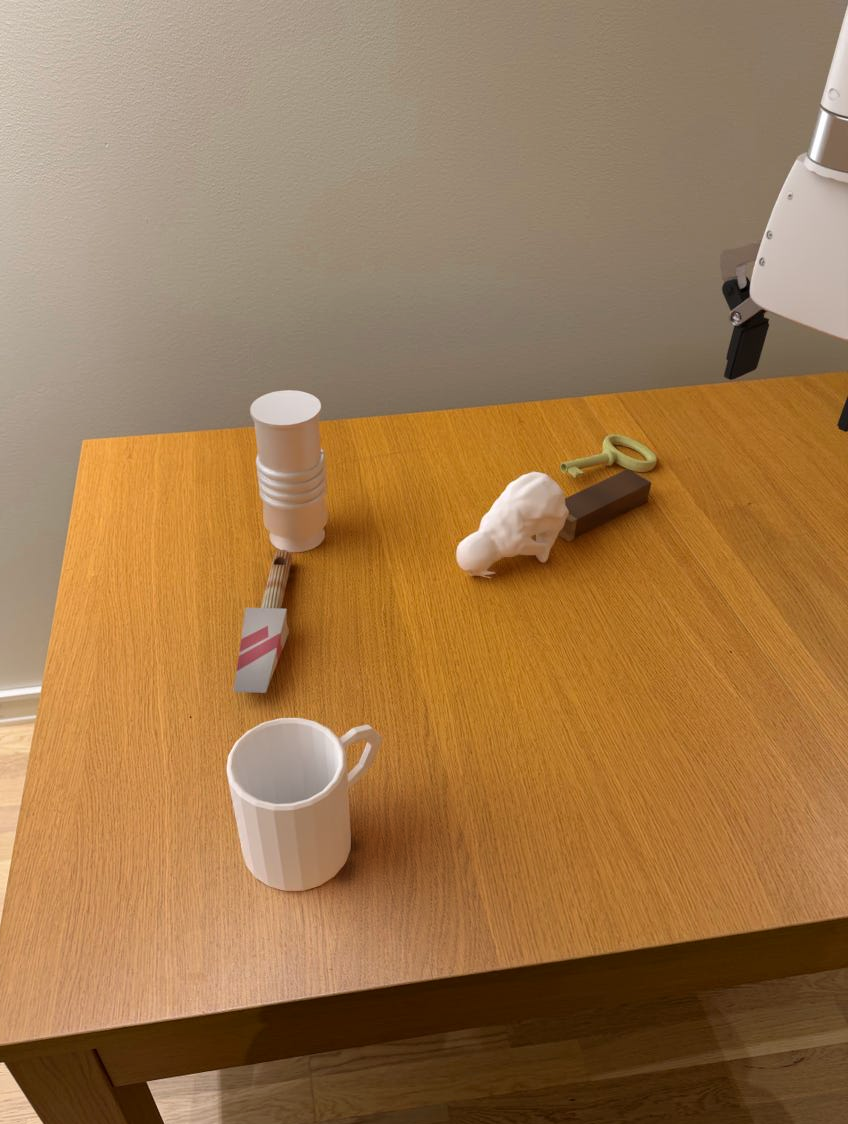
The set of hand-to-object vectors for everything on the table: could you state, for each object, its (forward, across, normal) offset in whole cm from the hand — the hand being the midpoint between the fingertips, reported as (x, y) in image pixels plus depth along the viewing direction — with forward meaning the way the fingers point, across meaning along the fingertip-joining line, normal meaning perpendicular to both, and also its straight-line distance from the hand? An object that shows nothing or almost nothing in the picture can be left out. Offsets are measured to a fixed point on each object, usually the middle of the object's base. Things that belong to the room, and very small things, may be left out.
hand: (794, 398), depth 68 cm
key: (+24, +27, -14) cm, 39 cm away
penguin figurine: (+24, +21, +8) cm, 33 cm away
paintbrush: (+24, +26, +32) cm, 48 cm away
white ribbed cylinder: (+24, +37, +22) cm, 50 cm away
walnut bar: (+24, +21, -6) cm, 32 cm away
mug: (+24, +4, +41) cm, 48 cm away
